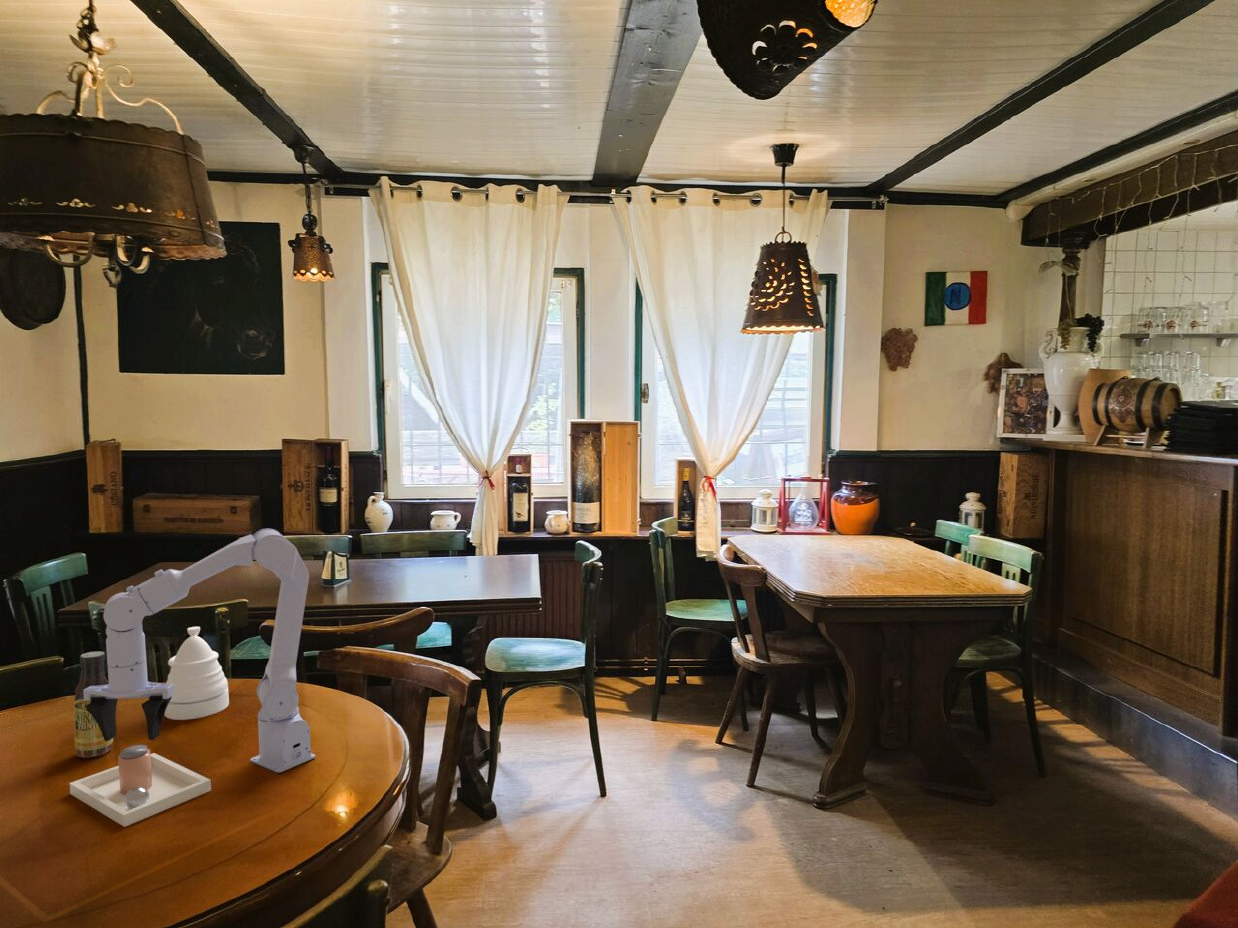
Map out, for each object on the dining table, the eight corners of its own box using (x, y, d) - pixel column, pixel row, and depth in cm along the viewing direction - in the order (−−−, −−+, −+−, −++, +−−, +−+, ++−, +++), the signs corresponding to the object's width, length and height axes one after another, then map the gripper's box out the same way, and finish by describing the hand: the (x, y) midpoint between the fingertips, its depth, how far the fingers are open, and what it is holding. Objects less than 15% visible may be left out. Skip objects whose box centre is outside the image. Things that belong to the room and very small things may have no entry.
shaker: (158, 782, 139) (156, 744, 139) (138, 795, 135) (135, 756, 134) (134, 780, 140) (132, 743, 140) (113, 793, 135) (111, 755, 135)
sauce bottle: (70, 761, 150) (63, 660, 148) (83, 748, 156) (76, 651, 154) (109, 757, 151) (102, 657, 150) (120, 743, 157) (114, 647, 156)
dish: (211, 793, 136) (210, 779, 136) (124, 830, 125) (123, 815, 124) (154, 765, 147) (154, 752, 147) (70, 796, 136) (69, 782, 136)
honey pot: (168, 703, 179) (163, 626, 178) (230, 694, 184) (226, 619, 183) (160, 723, 167) (155, 641, 166) (227, 713, 172) (223, 633, 171)
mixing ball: (153, 806, 131) (152, 786, 131) (131, 815, 128) (130, 794, 128) (143, 800, 133) (142, 780, 133) (121, 809, 130) (120, 789, 130)
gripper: (181, 654, 140) (186, 727, 141) (99, 655, 139) (105, 729, 140) (159, 667, 132) (164, 744, 133) (73, 669, 132) (78, 746, 133)
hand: (132, 738), depth 136 cm, fingers open, 7 cm apart
